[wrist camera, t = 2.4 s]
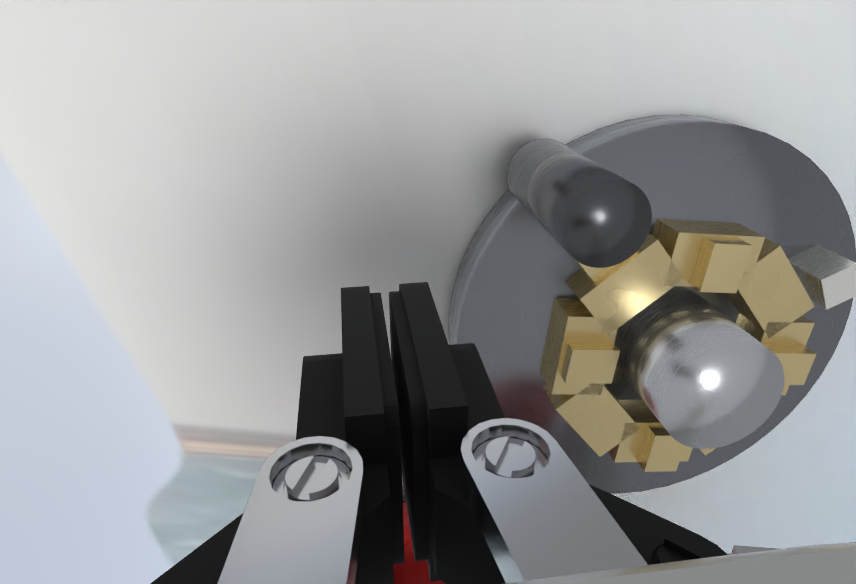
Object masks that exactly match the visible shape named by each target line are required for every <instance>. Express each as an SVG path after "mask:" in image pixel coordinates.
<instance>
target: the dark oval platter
mask: <svg viewBox="0 0 856 584" xmlns="http://www.w3.org/2000/svg"><path fill="white" fill-rule="evenodd" d="M565 146H567V147H569V148H570V149H572V150H574V151H576V152H578V153H579V154H581V155H583V156H585V157H587V158H588V159H590V160H592V161H594V162H595V163H597V164H599V165H601V166H603V167H604V168H606V169H608V170H610V171H611V172H613V173H615V174H617V175H619V176H620V177H622V178H624V179H626V180H628V181H629V182H631V183H633V184H635V185H636V186H638V187H639V188H640V189H641V190H642V191H643V192H644V193H645V195H646V196H647V198H648V200H649V202H650V205H651V210H652V222H651V227H650V230H649V234H651V235H652V234H653V230H654V227H655V223H656V219H675V220H693V221H711V222H729V223H739V224H741V225H743V226H745V227H747V228H749V229H751V230H753V231H755V232H757V233H758V234H760V235H762V236H764V237H765V238H766V239H768V240H770V241H772V242H774V243H776V244H778V245H780V246H781V248H782V249H783V251H784V253H785V255H786V257H787V258H788V260H789V262H790V264H791V265H792V267H793V269H794V271H795V273H796V274H797V276H798V278H799V280H800V281H801V283H802V285H803V287H804V288H805V290H806V292H807V294H808V296H809V297H810V299H811V301H812V303H813V304H814V306H815V307H813V308H812V309H811V310H809V311H808V312H806V313H805V314H803V316H804V317H806V318H808V319H809V320H811V321H812V322H814V323H815V324H814V326H813V329H812V331H811V334H810V336H809V339H808V341H807V344H806V347H807V348H809V349H810V350H812V351H813V352H815V353H816V357H815V359H814V362H813V364H812V366H811V369H810V371H809V374H808V376H807V378H806V381H805V383H804V385H789V388H788V390H787V393H786V395H782V392H783V389H784V370H783V367H782V364H781V362H780V360H779V358H778V357H777V356H776V355H775V354H774V353H773V352H772V351H771V350H770V349H768V348H767V347H766V346H764V345H763V344H762V343H761V342H759V341H758V340H757V339H755V338H754V337H753V336H751V335H750V334H749V333H748V332H746V331H745V330H744V329H742V328H741V327H740V326H738V325H737V324H736V321H737V318H738V315H739V312H738V310H737V309H736V307H735V305H734V304H733V302H732V301H731V299H730V298H729V296H728V295H727V293H714V292H699V291H698V290H697V289H695V288H694V287H689V286H674V287H673V288H671V289H670V290H669V291H667V292H666V293H665V294H663V295H662V296H661V297H659V298H658V299H657V300H655V301H654V302H653V303H651V304H650V305H648V306H647V307H646V308H644V309H643V310H642V311H640V312H639V313H638V314H636V315H635V316H634V317H632V318H631V319H630V320H628V321H627V322H626V323H624V324H623V325H622V326H620V327H619V328H618V330H617V334H616V338H615V342H614V344H615V345H616V346H617V347H618V349H619V350H620V353H619V357H618V361H617V365H616V369H615V372H614V376H613V380H612V384H606V386H607V387H608V388H609V389H610V390H611V392H612V393H613V394H614V395H615V396H616V397H617V399H618V400H643V401H644V402H645V404H646V405H647V406H648V407H649V409H650V410H651V411H652V413H653V414H654V415H655V416H656V418H657V419H658V420H659V421H660V423H661V424H662V425H663V426H664V428H665V429H666V430H667V431H668V433H669V434H670V435H671V436H672V437H673V438H674V439H675V440H676V441H678V442H679V443H681V444H683V445H685V446H688V447H692V451H691V454H690V457H689V460H688V461H680V462H679V465H678V468H677V470H676V471H665V472H644V471H643V469H642V468H641V466H640V465H639V463H638V462H614V461H613V459H612V458H611V456H610V455H609V453H608V452H606V453H605V454H604V455H602V456H601V457H599V456H598V455H597V453H596V452H595V451H594V450H593V449H592V448H591V447H590V446H589V445H588V444H587V443H586V442H585V441H584V439H583V438H582V437H581V436H580V435H579V434H578V433H577V432H576V431H575V430H574V429H573V428H572V427H571V426H570V424H569V423H568V422H567V421H566V420H565V419H564V418H563V417H562V416H561V415H560V414H559V413H558V412H557V410H556V409H555V407H554V406H553V404H552V402H551V400H550V398H549V396H548V395H547V393H546V391H545V389H544V387H543V386H544V385H546V383H545V381H544V380H543V378H542V376H541V374H540V372H539V370H540V365H541V360H542V355H543V350H544V345H545V340H546V335H547V330H548V325H549V320H550V315H551V310H552V305H553V300H554V298H578V297H577V296H576V295H575V294H574V292H573V291H572V290H571V289H570V287H569V286H568V285H567V284H566V282H565V280H567V279H568V278H569V277H571V276H572V275H573V274H575V273H576V272H577V271H578V270H580V269H581V268H580V267H579V266H578V264H577V263H576V262H575V260H574V259H573V258H572V257H571V255H570V254H569V253H568V252H567V251H566V250H565V249H564V248H563V247H562V246H561V245H560V243H559V242H558V241H557V240H556V239H555V238H554V237H553V236H552V235H551V234H550V233H549V232H548V231H547V230H546V229H545V228H544V227H543V226H542V225H541V224H540V223H539V222H538V221H537V220H536V219H535V218H534V217H533V216H532V215H531V214H530V213H529V212H528V211H527V210H526V209H525V208H524V207H523V205H522V204H521V203H520V202H519V201H518V200H517V199H516V198H515V197H514V196H513V194H512V193H511V191H510V189H509V190H508V191H507V192H506V193H505V194H504V195H503V196H502V197H501V199H500V200H499V201H498V202H497V204H496V205H495V206H494V208H493V209H492V210H491V211H490V213H489V214H488V215H487V217H486V218H485V219H484V221H483V222H482V224H481V226H480V227H479V229H478V231H477V232H476V234H475V236H474V237H473V239H472V241H471V242H470V245H469V247H468V249H467V251H466V254H465V256H464V258H463V260H462V263H461V265H460V267H459V271H458V274H457V278H456V281H455V285H454V288H453V291H452V298H451V305H450V312H449V343H450V345H452V344H465V343H474V344H475V346H476V348H477V350H478V352H479V355H480V357H481V360H482V362H483V365H484V367H485V369H486V372H487V374H488V377H489V379H490V382H491V384H492V387H493V389H494V391H495V394H496V396H497V399H498V401H499V404H500V406H501V408H502V411H503V413H504V416H505V418H510V419H519V420H523V421H526V422H530V423H533V424H535V425H537V426H539V427H540V428H542V429H544V430H546V431H547V432H548V433H549V434H550V435H551V436H552V437H553V438H554V439H555V440H556V441H557V442H558V444H559V445H560V447H561V448H562V449H563V451H564V452H565V453H566V455H567V456H568V457H569V459H570V460H571V461H572V463H573V464H574V465H575V467H576V468H577V469H578V471H579V472H580V474H581V475H582V476H583V478H584V479H585V480H586V482H587V483H588V484H590V485H592V486H594V487H597V488H599V489H601V490H603V491H605V492H607V493H628V492H637V491H645V490H650V489H655V488H659V487H664V486H668V485H671V484H674V483H677V482H681V481H684V480H687V479H690V478H692V477H695V476H697V475H699V474H702V473H704V472H707V471H709V470H711V469H713V468H715V467H717V466H719V465H721V464H723V463H724V462H726V461H728V460H730V459H732V458H734V457H735V456H737V455H738V454H740V453H741V452H743V451H744V450H746V449H747V448H749V447H751V446H752V445H753V444H755V443H756V442H757V441H759V440H760V439H761V438H762V437H764V436H765V435H766V434H768V433H769V432H770V431H771V430H773V429H774V428H775V427H776V426H777V425H778V424H779V423H780V422H781V421H782V420H783V419H784V418H785V417H786V416H788V415H789V414H790V413H791V411H792V410H793V409H794V408H795V407H796V406H797V405H798V404H799V402H800V401H801V400H802V399H803V398H804V397H805V396H806V395H807V393H808V392H809V391H810V389H811V388H812V386H813V385H814V384H815V382H816V381H817V380H818V378H819V377H820V375H821V374H822V372H823V371H824V369H825V367H826V365H827V364H828V362H829V360H830V359H831V357H832V355H833V354H834V351H835V349H836V347H837V345H838V343H839V340H840V338H841V336H842V334H843V332H844V329H845V325H846V322H847V319H848V316H849V313H850V310H851V306H852V301H853V297H855V296H856V248H855V238H854V234H853V230H852V226H851V222H850V218H849V215H848V213H847V210H846V208H845V206H844V204H843V201H842V199H841V197H840V195H839V193H838V192H837V190H836V189H835V187H834V186H833V184H832V183H831V181H830V180H829V178H828V177H827V176H826V174H825V173H824V172H823V171H822V170H821V169H820V168H819V167H818V166H817V165H816V164H815V163H814V162H813V161H812V160H811V159H810V158H809V157H807V156H806V155H804V154H803V153H801V152H800V151H799V150H797V149H796V148H794V147H793V146H791V145H790V144H788V143H786V142H784V141H782V140H780V139H777V138H775V137H773V136H771V135H769V134H767V133H764V132H760V131H756V130H753V129H749V128H745V127H742V126H738V125H734V124H730V123H727V122H723V121H719V120H715V119H712V118H707V117H698V116H689V115H658V116H649V117H644V118H638V119H632V120H627V121H623V122H620V123H617V124H614V125H611V126H607V127H604V128H601V129H598V130H596V131H594V132H591V133H589V134H587V135H585V136H583V137H581V138H578V139H576V140H574V141H572V142H570V143H568V144H567V145H565ZM712 448H716V449H714V450H713V451H711V452H710V453H708V454H707V455H704V454H703V452H702V451H701V450H700V449H712Z"/></svg>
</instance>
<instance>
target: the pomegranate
mask: <svg viewBox="0 0 856 584" xmlns="http://www.w3.org/2000/svg"><path fill="white" fill-rule="evenodd" d="M403 525H404V554H405V563H401V564H394V584H446V583H444V582H442V581H433V582H430V577H429V570H428V564H427V560H425V561H417V562H415V559H414V553H413V546H412V539H411V532H410V525H409V519H408V512H407V505H406V502H405V503H403Z"/></svg>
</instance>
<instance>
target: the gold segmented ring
mask: <svg viewBox="0 0 856 584" xmlns="http://www.w3.org/2000/svg"><path fill="white" fill-rule="evenodd" d="M507 181H508V186H509V189H510V191H511V193H512V194H513V196H514V197H515V198H516V199H517V200H518V201H519V202H520V203H521V204H522V205H523V207H524V208H525V209H526V210H527V211H528V212H529V213H530V214H531V215H532V216H533V217H534V218H535V219H536V220H537V221H538V222H539V223H540V224H541V225H542V226H543V227H544V228H545V229H546V230H547V231H548V232H549V233H550V234H551V235H552V236H553V237H554V238H555V239H556V240H557V241H558V242H559V243H560V245H561V246H562V247H563V248H564V249H565V250H566V251H567V252H568V253H569V254H570V255H571V257H572V258H573V259H574V260H575V262H576V263H577V264H578V266H579V267H580V268H581V269H580V270H578V271H577V272H576V273H575V274H573V275H572V276H571V277H569V278H568V279H567V280H565V282H566V284H567V285H568V286H569V287H570V289H571V290H572V291H573V292H574V294H575V295H576V296H577V297H578V298H554V300H553V305H552V310H551V315H550V320H549V325H548V330H547V335H546V340H545V345H544V350H543V355H542V360H541V365H540V370H539V372H540V374H541V376H542V378H543V380H544V381H545V383H546V385H544V386H543V387H544V389H545V391H546V393H547V395H548V396H549V398H550V400H551V402H552V404H553V406H554V407H555V409H556V410H557V412H558V413H559V414H560V415H561V416H562V417H563V418H564V419H565V420H566V421H567V422H568V423H569V424H570V426H571V427H572V428H573V429H574V430H575V431H576V432H577V433H578V434H579V435H580V436H581V437H582V438H583V439H584V441H585V442H586V443H587V444H588V445H589V446H590V447H591V448H592V449H593V450H594V451H595V452H596V453H597V455H598V456H599V457H601V456H602V455H604V454H605V453H606V452H608V453H609V455H610V456H611V458H612V459H613V461H614V462H638V463H639V465H640V466H641V468H642V469H643V471H644V472H665V471H676V470H677V468H678V465H679V462H680V461H688V460H689V457H690V454H691V451H692V447H688V446H685V445H683V444H681V443H679V442H678V441H676V440H675V439H674V438H673V437H672V436H671V435H670V434H669V433H668V431H667V430H666V429H665V428H664V426H663V425H662V424H661V423H660V421H659V420H658V419H657V418H656V416H655V415H654V414H653V413H652V411H651V410H650V409H649V407H648V406H647V405H646V404H645V402H644V401H643V400H618V399H617V397H616V396H615V395H614V394H613V393H612V392H611V390H610V389H609V388H608V387H607V386H606V384H612V380H613V376H614V372H615V369H616V365H617V361H618V357H619V353H620V350H619V349H618V347H617V346H616V345H615V344H614V342H615V338H616V334H617V330H618V328H619V327H620V326H622V325H623V324H624V323H626V322H627V321H628V320H630V319H631V318H632V317H634V316H635V315H636V314H638V313H639V312H640V311H642V310H643V309H644V308H646V307H647V306H648V305H650V304H651V303H653V302H654V301H655V300H657V299H658V298H659V297H661V296H662V295H663V294H665V293H666V292H667V291H669V290H670V289H671V288H673V287H674V286H689V287H694V288H695V289H697V290H698V291H699V292H714V293H727V295H728V296H729V298H730V299H731V301H732V302H733V304H734V305H735V307H736V309H737V310H738V312H739V315H738V318H737V321H736V324H737V325H738V326H740V327H741V328H742V329H744V330H745V331H746V332H748V333H749V334H750V335H751V336H753V337H754V338H755V339H757V340H758V341H759V342H761V343H762V344H763V345H764V346H766V347H767V348H768V349H770V350H771V351H772V352H773V353H774V354H775V355H776V356H777V357H778V358H779V360H780V362H781V364H782V367H783V370H784V389H783V392H782V395H786V393H787V390H788V388H789V385H804V383H805V381H806V378H807V376H808V374H809V371H810V369H811V366H812V364H813V362H814V359H815V357H816V353H815V352H813V351H812V350H810V349H809V348H807V347H806V344H807V341H808V339H809V336H810V334H811V331H812V329H813V326H814V324H815V323H814V322H812V321H811V320H809V319H808V318H806V317H804V316H803V314H805V313H806V312H808V311H809V310H811V309H812V308H813V307H815V306H814V304H813V303H812V301H811V299H810V297H809V296H808V294H807V292H806V290H805V288H804V287H803V285H802V283H801V281H800V280H799V278H798V276H797V274H796V273H795V271H794V269H793V267H792V265H791V264H790V262H789V260H788V258H787V257H786V255H785V253H784V251H783V249H782V248H781V246H780V245H778V244H776V243H774V242H772V241H770V240H768V239H766V238H765V237H764V236H762V235H760V234H758V233H757V232H755V231H753V230H751V229H749V228H747V227H745V226H743V225H741V224H739V223H729V222H711V221H693V220H675V219H656V223H655V227H654V230H653V234H652V235H651V234H649V230H650V227H651V222H652V210H651V205H650V202H649V200H648V198H647V196H646V195H645V193H644V192H643V191H642V190H641V189H640V188H639V187H638V186H636V185H635V184H633V183H631V182H629V181H628V180H626V179H624V178H622V177H620V176H619V175H617V174H615V173H613V172H611V171H610V170H608V169H606V168H604V167H603V166H601V165H599V164H597V163H595V162H594V161H592V160H590V159H588V158H587V157H585V156H583V155H581V154H579V153H578V152H576V151H574V150H572V149H570V148H569V147H567V146H565V145H563V144H562V143H560V142H558V141H555V140H552V139H537V140H533V141H531V142H529V143H527V144H525V145H524V146H522V147H521V148H520V149H519V150H518V151H517V152H516V153H515V155H514V156H513V158H512V160H511V162H510V164H509V167H508V172H507ZM714 449H716V448H712V449H700V450H701V451H702V452H703V454H704V455H707V454H708V453H710V452H711V451H713V450H714Z"/></svg>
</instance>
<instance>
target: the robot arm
mask: <svg viewBox="0 0 856 584" xmlns="http://www.w3.org/2000/svg"><path fill="white" fill-rule="evenodd" d="M389 310H390V335H391V355H390V349H389V343H388V336H387V330H386V324H385V318H384V311H383V305H382V299H381V293H370V290H369V286H363V287H348V288H341V312H342V353H340V354H328V355H315V356H304V357H303V365H302V377H301V388H300V399H299V411H298V422H297V434H296V440H295V441H292V442H289V443H288V444H286V445H284V446H282V447H280V448H278V449H277V450H276V451H274V452H273V453H272V454H271V455H270V456H269V457H268V458H267V459H266V460H265V462H264V463H263V465H262V467H261V468H260V470H259V473H258V475H257V478H256V481H255V484H254V486H253V489H252V492H251V494H250V497H249V500H248V502H247V505H246V508H245V511H244V513H243V514H241V515H240V516H239V517H237V518H236V519H235V520H234V521H232V522H231V523H230V524H228V525H227V526H226V527H224V528H223V529H222V530H220V531H219V532H218V533H216V534H215V535H214V536H213V537H211V538H210V539H209V540H207V541H206V542H205V543H203V544H202V545H201V546H199V547H198V548H197V549H195V550H194V551H193V552H191V553H190V554H189V555H188V556H186V557H185V558H184V559H182V560H181V561H180V562H178V563H177V564H176V565H174V566H173V567H172V568H170V569H169V570H168V571H166V572H165V573H164V574H163V575H161V576H160V577H159V578H157V579H156V580H155V581H153V582H152V583H151V584H394V564H401V563H405V554H404V525H403V495H402V477H403V484H404V491H405V498H406V505H407V512H408V519H409V525H410V532H411V539H412V546H413V553H414V559H415V562H417V561H425V560H427V564H428V570H429V577H430V582H433V581H442V582H444V583H446V584H856V542H850V543H839V544H824V545H814V546H803V547H794V548H786V549H775V548H762V547H749V546H736V545H734V547H733V550H732V553H731V554H726V553H725V552H724V551H723V550H722V549H721V548H720V547H718V546H717V545H716V544H714V543H712V542H711V541H709V540H707V539H705V538H704V537H702V536H700V535H698V534H696V533H694V532H692V531H690V530H687V529H685V528H683V527H681V526H679V525H677V524H674V523H672V522H670V521H668V520H666V519H664V518H661V517H659V516H657V515H655V514H653V513H651V512H648V511H646V510H644V509H642V508H640V507H638V506H636V505H633V504H631V503H629V502H627V501H625V500H623V499H620V498H618V497H616V496H614V495H612V494H610V493H607V492H605V491H603V490H601V489H599V488H597V487H594V486H592V485H590V484H588V483H587V482H586V480H585V479H584V478H583V476H582V475H581V474H580V472H579V471H578V469H577V468H576V467H575V465H574V464H573V463H572V461H571V460H570V459H569V457H568V456H567V455H566V453H565V452H564V451H563V449H562V448H561V447H560V445H559V444H558V442H557V441H556V440H555V439H554V438H553V437H552V436H551V435H550V434H549V433H548V432H547V431H546V430H544V429H542V428H540V427H539V426H537V425H535V424H533V423H530V422H526V421H523V420H519V419H510V418H505V416H504V413H503V411H502V408H501V406H500V404H499V401H498V399H497V396H496V394H495V391H494V389H493V387H492V384H491V382H490V379H489V377H488V374H487V372H486V369H485V367H484V365H483V362H482V360H481V357H480V355H479V352H478V350H477V348H476V346H475V344H474V343H465V344H452V345H448V342H447V339H446V336H445V333H444V330H443V327H442V324H441V321H440V318H439V315H438V312H437V309H436V306H435V303H434V300H433V297H432V294H431V291H430V288H429V285H428V283H427V282H423V283H408V284H399V291H398V292H389ZM391 361H392V362H391Z"/></svg>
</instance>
